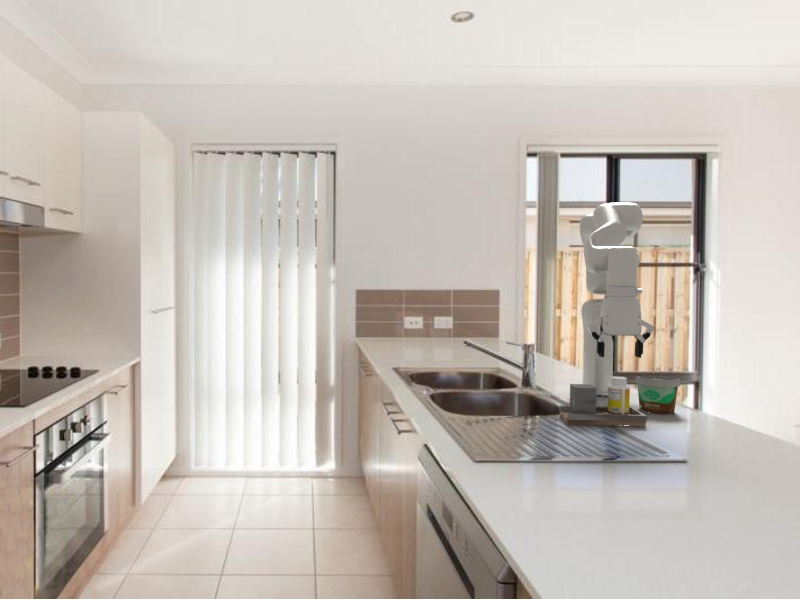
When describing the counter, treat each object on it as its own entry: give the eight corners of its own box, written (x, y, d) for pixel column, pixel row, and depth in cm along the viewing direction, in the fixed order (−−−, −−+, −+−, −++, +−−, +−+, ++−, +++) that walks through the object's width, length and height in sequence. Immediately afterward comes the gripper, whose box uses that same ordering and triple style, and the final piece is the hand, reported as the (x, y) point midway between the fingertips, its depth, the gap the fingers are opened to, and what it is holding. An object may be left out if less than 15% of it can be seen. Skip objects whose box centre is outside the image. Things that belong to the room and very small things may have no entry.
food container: (631, 412, 173) (632, 377, 173) (634, 408, 179) (635, 374, 178) (678, 417, 167) (679, 381, 167) (679, 412, 173) (680, 378, 173)
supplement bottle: (624, 413, 164) (625, 375, 163) (632, 417, 158) (633, 379, 158) (604, 413, 164) (605, 375, 163) (611, 417, 158) (612, 379, 158)
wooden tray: (559, 415, 167) (559, 382, 167) (632, 417, 166) (633, 383, 166) (567, 425, 156) (568, 389, 156) (646, 427, 155) (647, 390, 155)
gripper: (649, 292, 163) (647, 355, 164) (584, 292, 164) (583, 354, 165) (659, 293, 155) (657, 359, 156) (592, 293, 157) (590, 358, 157)
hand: (619, 356), depth 161 cm, fingers open, 9 cm apart
